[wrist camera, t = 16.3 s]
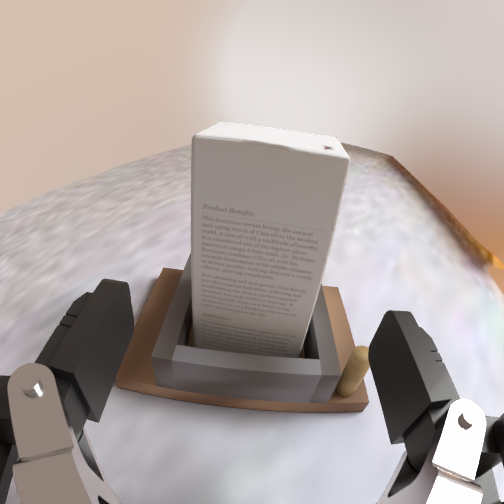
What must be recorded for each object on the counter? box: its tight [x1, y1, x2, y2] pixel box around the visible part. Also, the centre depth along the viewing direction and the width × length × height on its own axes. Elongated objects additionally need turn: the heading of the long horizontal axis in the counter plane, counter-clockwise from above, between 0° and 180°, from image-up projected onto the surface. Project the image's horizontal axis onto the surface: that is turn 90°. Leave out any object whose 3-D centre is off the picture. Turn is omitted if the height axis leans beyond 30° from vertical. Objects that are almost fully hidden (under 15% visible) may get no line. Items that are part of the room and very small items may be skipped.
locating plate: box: [115, 253, 370, 412], centre depth 19 cm, size 14×11×4 cm
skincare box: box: [191, 122, 351, 358], centre depth 16 cm, size 6×4×12 cm
